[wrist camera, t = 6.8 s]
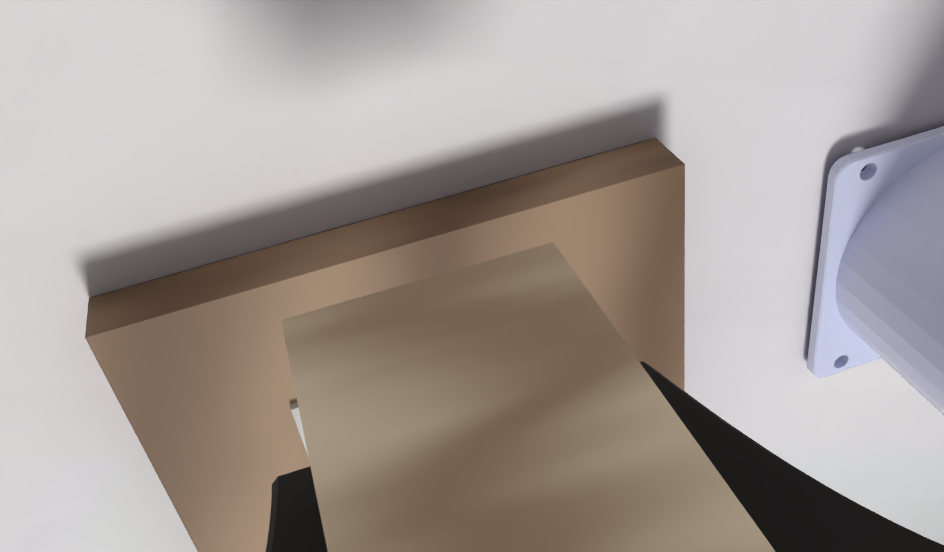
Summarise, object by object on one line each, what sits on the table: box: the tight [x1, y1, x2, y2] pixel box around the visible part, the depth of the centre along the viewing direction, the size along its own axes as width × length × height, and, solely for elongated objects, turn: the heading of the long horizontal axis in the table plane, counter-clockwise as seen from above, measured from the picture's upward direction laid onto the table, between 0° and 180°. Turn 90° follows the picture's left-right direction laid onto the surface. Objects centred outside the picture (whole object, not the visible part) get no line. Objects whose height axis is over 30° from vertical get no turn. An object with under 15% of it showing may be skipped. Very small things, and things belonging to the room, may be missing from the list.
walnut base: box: [85, 138, 685, 552], centre depth 24 cm, size 14×14×2 cm
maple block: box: [281, 242, 775, 552], centre depth 12 cm, size 4×4×6 cm
